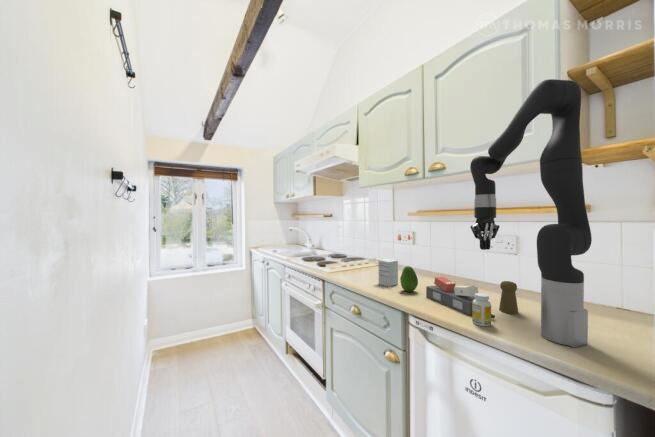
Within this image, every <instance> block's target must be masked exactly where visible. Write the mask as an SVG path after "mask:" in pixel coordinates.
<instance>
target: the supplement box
mask: <svg viewBox="0 0 655 437" xmlns="http://www.w3.org/2000/svg"><path fill="white" fill-rule="evenodd" d="M377 263H378V285H381V286H384V287H385V286H386V287H393V286H396V285H398V284H399V260H397V259H392V258H391V259H390V258H383V259H379V260H378V262H377Z"/></svg>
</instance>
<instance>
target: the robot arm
mask: <svg viewBox="0 0 655 437" xmlns="http://www.w3.org/2000/svg"><path fill="white" fill-rule="evenodd" d="M581 107H582V91H581V86H580V84H579V83H578V82H576V81H573V80H568V79H567V80H566V79H554V78H551V79H550V78H549V79H544V80H542V81H540V82H538V84H536V85H535V86H534V87H533V88H532V90H531V91H530V92H529V94H528V95H527V96H526V98H525V100H524V101H523V102H522V104H521V106H520V107H519V109H518V110H517V111H516V112H515V115H514V116H513V117H512V119H511V120H510V123H509V124H508V125H507V127H506V128H505V129H504V130H503V132H502V133H501V134H500V135H499V136H498V137H497V138H496V140H495V141H493V142H492V144H491V145H490V146H489V147H488V151H487V153H488V155H485V156H484V155H477V156H475V157H473V158H472V160H471V162H470V167H469V168H470V173H471V176H472V181H473V182H474V189H475V191H474V206H473V207H474V210H473V211H474V213H473V214H474V218H475V219H476V220H475V223H474V225H470V229H471V232H472V234H473V236H474V237H475V239H477V240H479V249H480V250H482V251H483V250H484V251H486V250H490V249H491V241H492V240H493V239H495V238H496V236H497V235H498V232H499V229H500V227H501V226H500V225H499V224H498V225H497V223H496V222H495V219H496V218H497V196H496V190H497V189H496V181H495V180H493V179H490V178H488V177H487V175H493V174H495V173H497V172H499V171H500V169H501V168H502V167H503V165H504V163H505V161H506V160H507V158H508V157H509V156H510V155H511V154H512V153H513V152H514V151H515V150H516V149H517V148H518V147H519V146H520V145H521V143H522V141H523V140H524V136H525V132H526V129H527V128H528V125H529V124H530V123H531V122H532V121H533V120H534V119H535V118H537V117H538V116H539V115H540V114H541V115H550V116H551V120H552V121H551V122H552V130H551V131H552V132H551V136H550V138H549V140H548V142H547V143H546V145H545V146H544V148H543V151H542V152H541V154H540V157H539V169H540V171H539V173H540V180H541V183H542V185H543V188H544V189H545V191H546V193H547V194H548V196H549V197H550V199H552V200H551V201H553V204H554V205H555V208H556V213H557V223H552V224H551V223H550V224H545V225H544V226H542V227H541V228H540V229H539V231H538V232H537V237H536V257H537V266H538V268H539V271H540V274H541V275H540V276H541V277H540V278H541V279H540V284H541V285H540V286H541V287H540V335H541V336H542V337H543V338H544V339H546V340H548V341H550V342H552V343H556V344H561V345H564V346H569V347H572V348H577V347H580V346H581V347H582V346H585V345H588V343H589V342H588V341H589V338H588V335H589V332H588V331H589V313H588V312H589V310H588V309H586V308H584V307H585V306H584V303H585V298H584V297H585V293H584V292H585V273H584V272H583V271H582V270H580V269H578V268H575V266H573V260H572V257H573V256H581V255H584V254H585V253H587V251H589V250H590V248H591V246H592V237H593V236H592V231H591V227H590V222H589V218H588V212H587V207H586V200H585V190H584V188H585V187H584V178H583V176H584V175H583V159H582V150H581V130H580V129H581V128H580V127H581V126H580V125H581V124H580V122H581V109H582V108H581Z"/></svg>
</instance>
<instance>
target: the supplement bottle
mask: <svg viewBox="0 0 655 437" xmlns="http://www.w3.org/2000/svg"><path fill="white" fill-rule="evenodd" d="M489 300H490V295H489V294H487V293H483V292H478V293H475V300H473V303H472V315H471V316H472V317H471V318H472V323H473V324H475V325H477V326H480V327H490V326H491V325H492V318H491V314H492V304H491V301H489Z"/></svg>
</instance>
